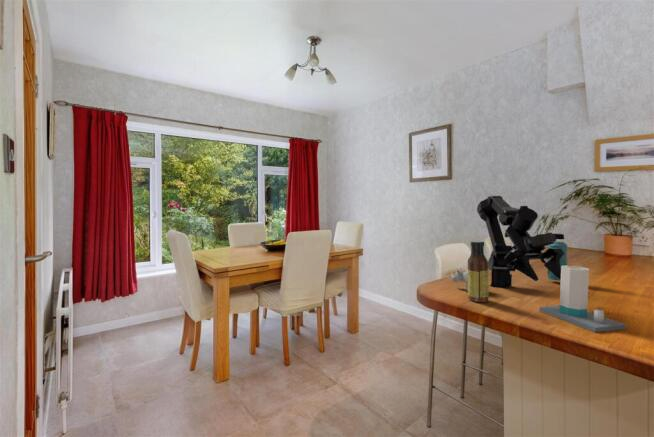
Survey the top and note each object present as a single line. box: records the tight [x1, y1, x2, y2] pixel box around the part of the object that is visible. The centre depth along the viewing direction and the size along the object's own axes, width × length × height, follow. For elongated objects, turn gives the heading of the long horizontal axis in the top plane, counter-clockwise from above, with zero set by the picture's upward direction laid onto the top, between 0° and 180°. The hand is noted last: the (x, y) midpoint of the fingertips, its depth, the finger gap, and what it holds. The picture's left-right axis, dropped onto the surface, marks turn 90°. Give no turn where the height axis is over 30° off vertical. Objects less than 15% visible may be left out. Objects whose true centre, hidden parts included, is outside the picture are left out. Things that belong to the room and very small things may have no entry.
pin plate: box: [539, 304, 627, 333], centre depth 88 cm, size 16×10×4 cm, turn 12°
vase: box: [559, 264, 590, 317], centre depth 90 cm, size 6×6×13 cm
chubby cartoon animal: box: [450, 268, 468, 292], centre depth 118 cm, size 7×12×8 cm, turn 48°
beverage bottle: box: [547, 233, 568, 282], centre depth 128 cm, size 6×7×20 cm
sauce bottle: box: [467, 240, 489, 303], centre depth 105 cm, size 7×6×20 cm
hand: (549, 279), depth 97 cm, fingers open, 9 cm apart
